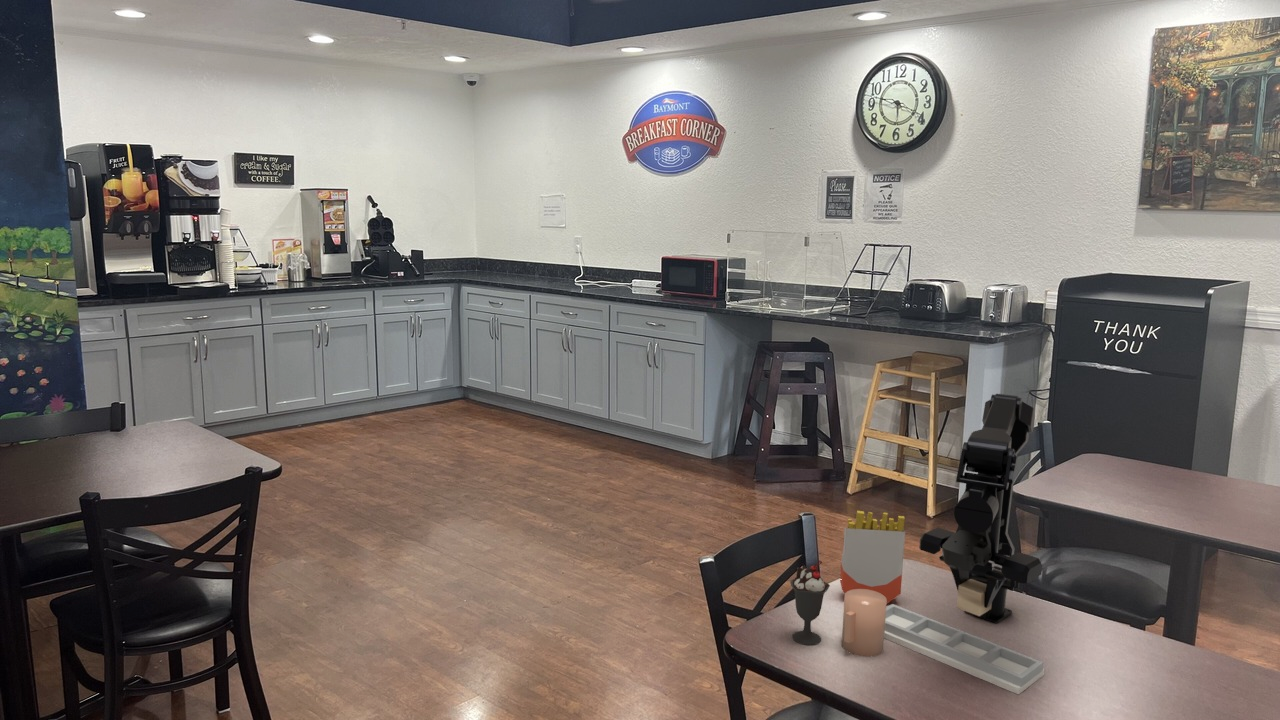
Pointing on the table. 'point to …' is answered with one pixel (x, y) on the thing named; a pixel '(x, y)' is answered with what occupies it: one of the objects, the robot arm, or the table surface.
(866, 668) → the table surface
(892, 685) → the table surface
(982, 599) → the beech block
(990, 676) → the board
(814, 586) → the sundae
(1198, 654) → the table surface
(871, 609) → the terracotta mug
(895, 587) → the french fries container
